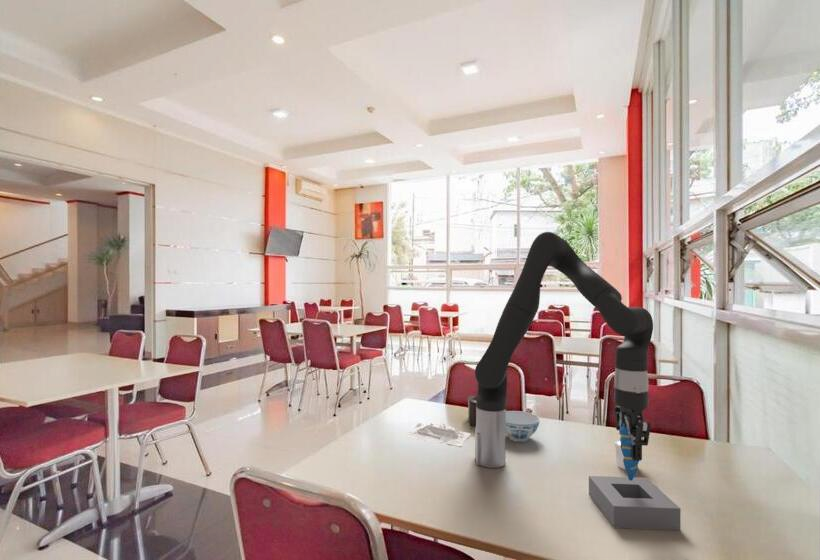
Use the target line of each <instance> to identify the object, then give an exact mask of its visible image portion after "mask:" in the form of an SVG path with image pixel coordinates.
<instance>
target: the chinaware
mask: <svg viewBox="0 0 820 560" xmlns="http://www.w3.org/2000/svg"><path fill="white" fill-rule="evenodd" d="M540 421H541V419H540V417H539V416H538V415H536V414H535V413H534V414H533V413H532V412H527V411H521V410H506V436H508V438H509V440H511V441H513V442H520V443H521V442H526V441H528V440H529V438H530V437H532V436H533V435H534V434H535V433H536V432H537V430H538V428H539V425H540Z"/></svg>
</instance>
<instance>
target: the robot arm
mask: <svg viewBox="0 0 820 560" xmlns="http://www.w3.org/2000/svg"><path fill="white" fill-rule="evenodd" d="M548 267H551V268H554V269H555V270H557V271H559V272H560V273H562V274H564V275H565V277H567V278H568V279H569V280H570V281H571V283H573V285H574V286H575V288H576V289H577V291H578V292H579V293H580V294H581V295H582V297H583V298H585V299H586V300H587V301H588V302H589V303H590V305H592V306H593V307H594V308H595V309H597V310H598V312H599V314H600V316H601V318H602V319H603V320H604V321H605V324H606V325H607V326H608V328H609V329H610V330H612V331H613V332H614V333H616V334H617V335H620V336H624V338H623V342H621V344H619V345H618V346H617V347H616V349H615V369H614V370H615V371H614V375H613V376H614V380H613V381H614V383H613V384H614V386H613V388H614V392H613V393H614V395H613V397H614V404H615V406H613V411H614V419H615V420H614V421H615V429H616V431H618V432H619V433H618V434H619V435H620V436H621V432H620V427H621V426H623V425H625V426H627V430H628V434H629V435H630V436H631V443H632V444H631V458H632V459H633V460H635V461H639V462H640V461H642V460H643V446H647V447H648V445H649V439H650V434H651V426H652V425H651V422H646V421H645V420H644V414H643V411H644V410H646V409H648V408H649V374H648V351H649V348H650V344H651V340H652V337H653V331H654V320H653V317H652V315H651V313H650V312H649V311H648V310H647V309H646V308H644V307H640V306H630V307H628V306H627V305H626V304H624V303H623V302H622V299H623V297H622V294H621V293H620V292H619V290H617V289H616V287H614V286H613V285H612V284H611V283H609V282H608V281H607V280H606V279H605V278H604V277H602V276H601V275H600V274H599V273H597V272H596V271H595V270H593V269H592V268H591V267H590V266H588V265H587V264H586V263H585V261H583V260H582V258H580V256H579V255H578V254H577V253H576V251H575V250H574V249H573V248H572V246H571V245H570V244H569V243H568V241H567V240H565V239H564V238H563V237H561V236H559V235H558V234H556V233H554V232H552V231H544V232H541V233H539V234H538V235H537V236H536V237H535V238H534V240H533V242H532V243H531V245H530V247H529V250H528V253H527V256H526V259H525V262H524V265H523V267H522V270H521V272H520V275H519V276H518V280H517V281H516V283H515V285H514V288H513V290H512V293H510V297H509V298H508V299H507V302H506V304H505V305H504V308H503V310H502V313H501V315H500V317H499V320H498V322H497V325H496V328H495V331H494V334H493V337H492V340H491V341H490V343H489V344H488V347H487V349H486V350H485V352H484V354H483V355H482V356H481V358H480V359H479V361H478V363H477V364H476V367H475V370H474V375H475V376H474V377H475V380H476V381H477V393H476V395H477V398H476V426H475V428H474V429H475V430H474V458H475V463H476V466H481V467H486V468H490V469H491V468H492V469H496V468H497V469H498V468H503V467H504V466H505V465H506V459H507V458H506V457H507V455H506V449H507V447H506V443H507V442H506V439H507V438H506V437H507V434H506V411H507V409H506V407H507V395H508V394H507V393H508V392H507V390H508V367H509V365H510V361H511V359H512V356H513V354H514V352H515V350H516V349H517V347H518V346H519V344H520V343H521V342H522V340H523V339H524V337H525V335H526V334H527V332H528V330H529V328H530V327H531V325H532V323H533V321H534V319H535V317H536V314H537V313H538V310H539V306H540V299H541V298H540V297H541V285H542V281H543V278H544V275H545V273H546V271H547V269H548ZM632 430H636V431H632ZM635 435H636V438H635ZM621 450H622V444H621Z"/></svg>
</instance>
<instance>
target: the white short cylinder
mask: <svg viewBox="0 0 820 560" xmlns="http://www.w3.org/2000/svg"><path fill="white" fill-rule="evenodd" d="M614 449H615V460H616V466H617V467H618V468H620V469H622V470H625V471H626V469H625V466H624V462H623V458H624V456H623V454H622V450H621V442H620V439H617V440H615V441H614Z"/></svg>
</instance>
